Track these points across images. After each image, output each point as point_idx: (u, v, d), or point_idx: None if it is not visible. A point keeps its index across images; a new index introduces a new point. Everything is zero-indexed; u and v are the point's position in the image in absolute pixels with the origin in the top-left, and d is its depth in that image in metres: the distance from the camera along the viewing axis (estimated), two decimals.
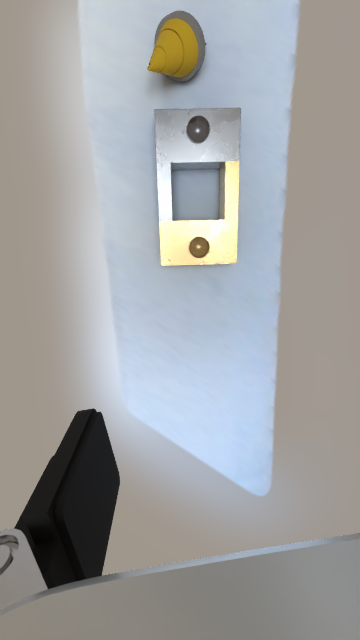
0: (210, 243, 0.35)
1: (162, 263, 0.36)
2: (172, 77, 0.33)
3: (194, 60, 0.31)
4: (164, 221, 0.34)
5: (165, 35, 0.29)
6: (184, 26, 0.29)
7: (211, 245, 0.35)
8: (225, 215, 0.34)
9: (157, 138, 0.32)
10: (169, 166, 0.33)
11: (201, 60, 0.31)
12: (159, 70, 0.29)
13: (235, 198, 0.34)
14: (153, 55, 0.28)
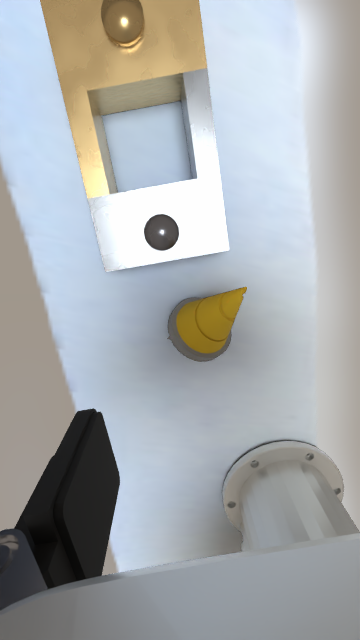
0: (102, 34, 0.18)
1: None
2: None
3: (180, 317, 0.23)
4: (197, 69, 0.18)
5: (222, 333, 0.22)
6: (198, 346, 0.23)
7: (99, 30, 0.18)
8: (87, 99, 0.19)
9: (221, 211, 0.21)
10: (198, 172, 0.20)
11: (170, 319, 0.24)
12: (228, 292, 0.20)
13: (76, 134, 0.19)
14: (237, 307, 0.20)
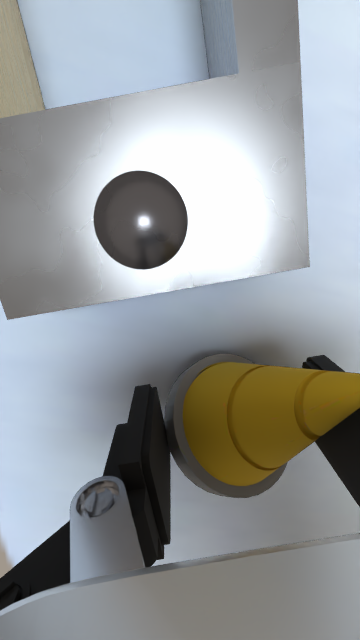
0: None
1: None
2: (237, 359, 0.13)
3: (190, 408, 0.11)
4: None
5: (290, 457, 0.09)
6: (231, 477, 0.10)
7: None
8: None
9: (297, 168, 0.08)
10: (242, 54, 0.07)
11: (171, 409, 0.11)
12: (321, 378, 0.08)
13: None
14: None
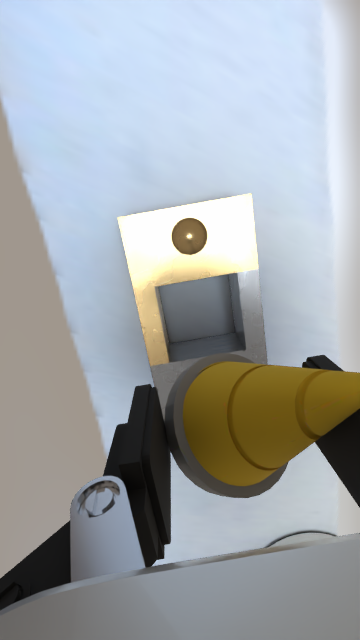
0: (170, 245, 0.21)
1: (249, 198, 0.20)
2: (237, 358, 0.13)
3: (191, 407, 0.11)
4: (250, 269, 0.21)
5: (291, 457, 0.09)
6: (232, 477, 0.10)
7: (167, 243, 0.21)
8: (154, 292, 0.22)
9: None
10: (247, 345, 0.23)
11: (171, 409, 0.11)
12: (322, 378, 0.08)
13: (143, 319, 0.22)
14: None
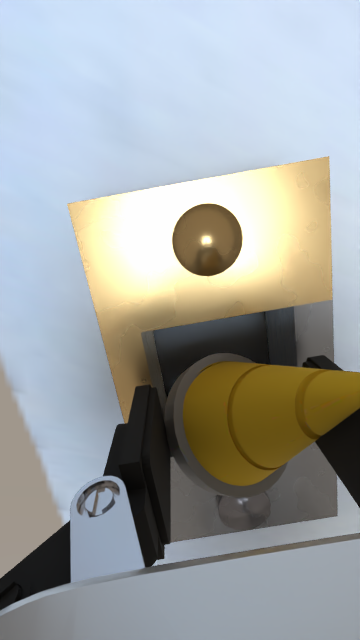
0: (170, 257, 0.11)
1: (324, 165, 0.10)
2: (237, 358, 0.13)
3: (191, 407, 0.11)
4: (317, 301, 0.12)
5: (291, 457, 0.09)
6: (231, 477, 0.10)
7: (165, 252, 0.11)
8: (140, 342, 0.12)
9: (331, 473, 0.14)
10: None
11: (171, 408, 0.11)
12: (322, 377, 0.08)
13: (122, 387, 0.12)
14: None
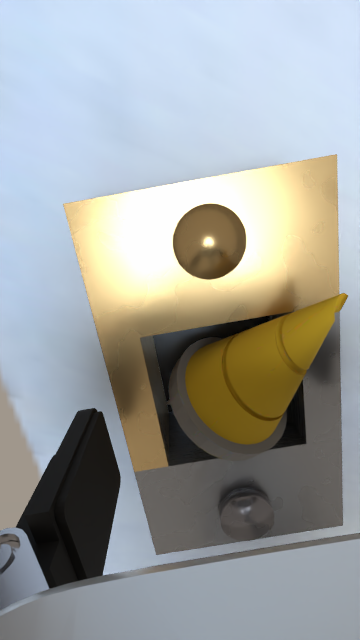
0: (170, 260, 0.10)
1: (332, 163, 0.10)
2: None
3: (193, 362, 0.12)
4: None
5: (275, 402, 0.10)
6: (221, 423, 0.11)
7: (165, 255, 0.10)
8: (140, 348, 0.11)
9: (337, 482, 0.13)
10: (308, 436, 0.13)
11: (176, 365, 0.13)
12: (298, 310, 0.10)
13: (121, 394, 0.12)
14: (318, 344, 0.09)
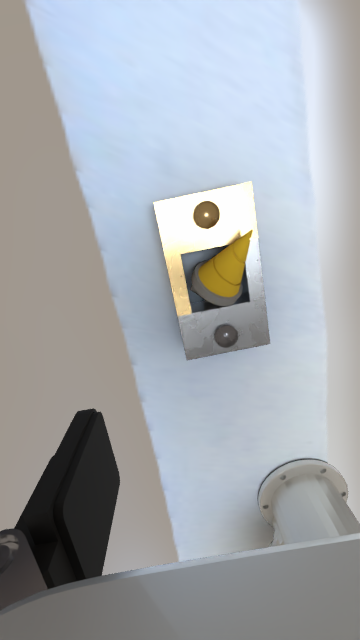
0: (192, 222, 0.28)
1: (250, 185, 0.27)
2: None
3: (201, 267, 0.30)
4: (251, 239, 0.28)
5: (233, 275, 0.28)
6: (213, 286, 0.28)
7: (190, 220, 0.28)
8: (180, 259, 0.29)
9: (265, 320, 0.31)
10: (251, 298, 0.30)
11: (194, 270, 0.30)
12: (239, 238, 0.27)
13: (172, 279, 0.29)
14: (246, 249, 0.27)
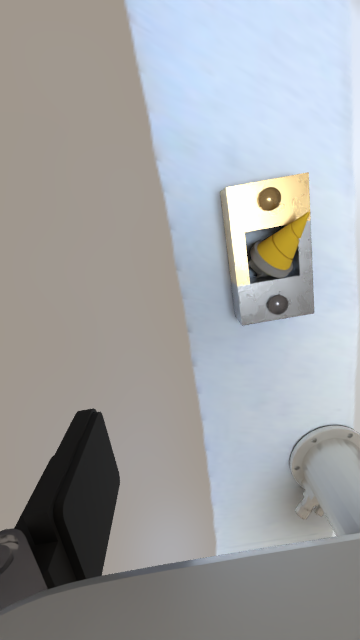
0: (256, 205, 0.33)
1: (307, 175, 0.32)
2: None
3: (260, 244, 0.35)
4: None
5: (289, 250, 0.33)
6: (271, 260, 0.34)
7: (255, 203, 0.33)
8: (244, 236, 0.34)
9: (311, 292, 0.36)
10: (300, 272, 0.35)
11: (253, 247, 0.36)
12: (296, 219, 0.32)
13: (236, 253, 0.35)
14: (302, 228, 0.32)
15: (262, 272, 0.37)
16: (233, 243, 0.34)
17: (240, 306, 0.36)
